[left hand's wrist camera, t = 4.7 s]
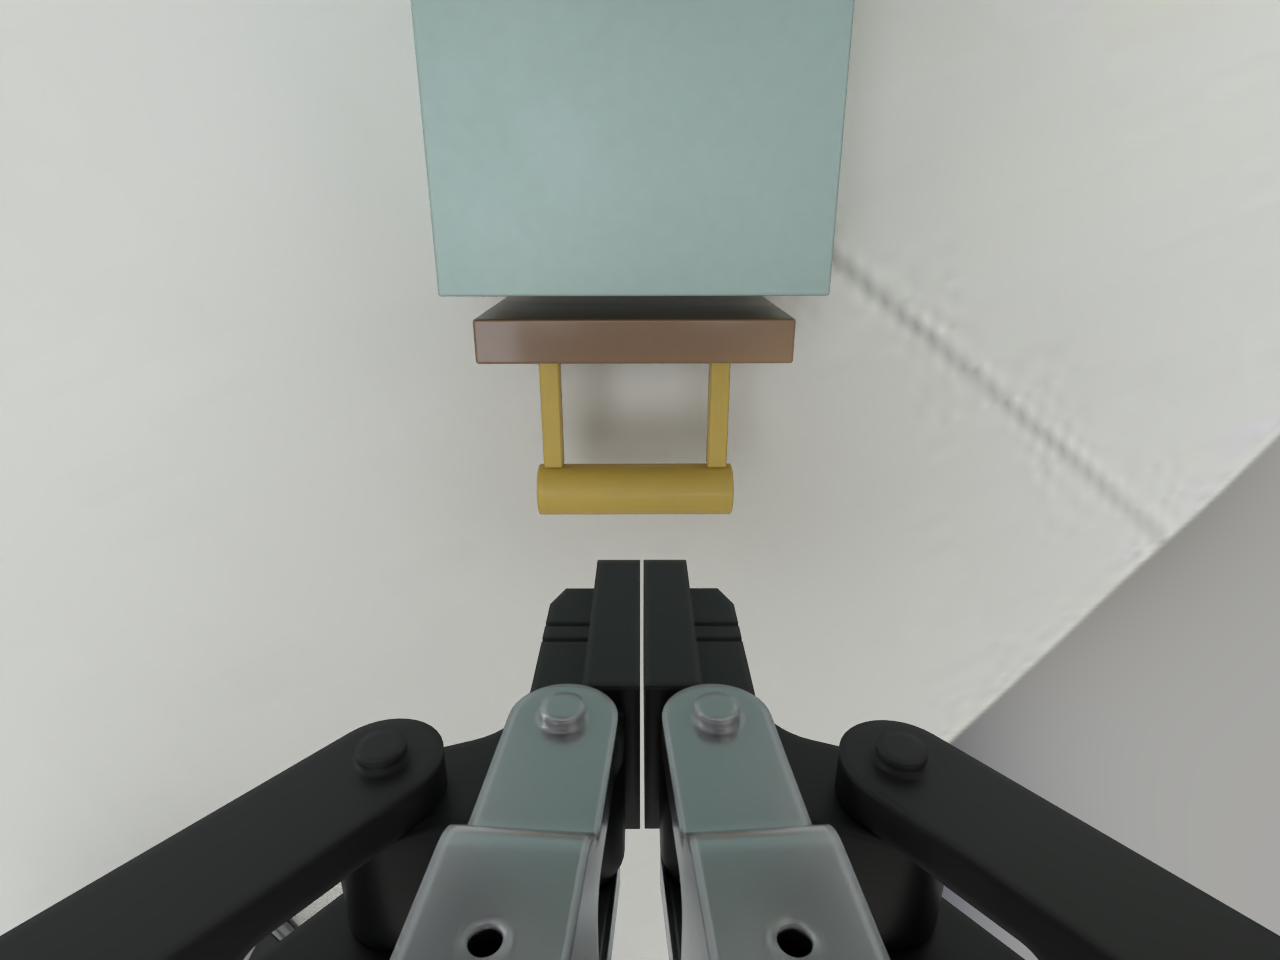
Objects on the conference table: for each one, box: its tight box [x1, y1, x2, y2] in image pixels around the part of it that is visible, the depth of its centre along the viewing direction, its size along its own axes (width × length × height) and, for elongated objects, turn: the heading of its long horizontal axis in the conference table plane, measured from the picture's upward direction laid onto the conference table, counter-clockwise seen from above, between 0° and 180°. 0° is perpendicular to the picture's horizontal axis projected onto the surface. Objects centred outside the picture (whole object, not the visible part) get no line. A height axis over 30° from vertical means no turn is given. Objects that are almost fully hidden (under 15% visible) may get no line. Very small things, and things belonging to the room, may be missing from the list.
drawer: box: [473, 296, 796, 514], centre depth 21 cm, size 21×9×6 cm, turn 0°
